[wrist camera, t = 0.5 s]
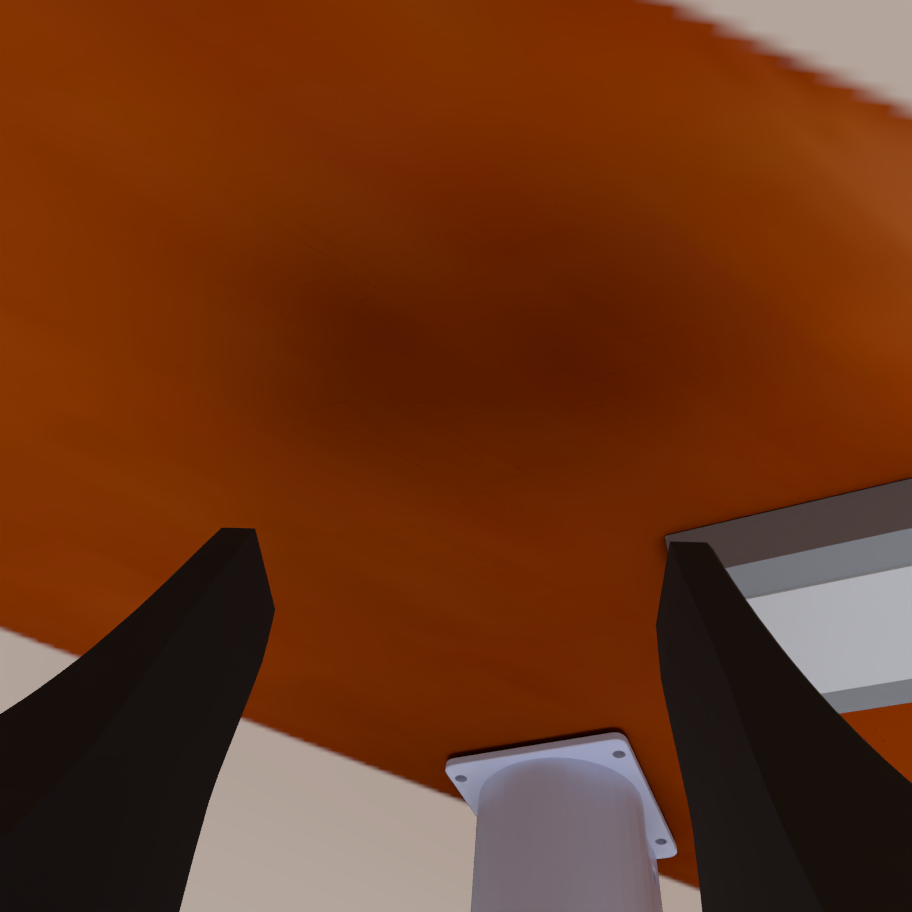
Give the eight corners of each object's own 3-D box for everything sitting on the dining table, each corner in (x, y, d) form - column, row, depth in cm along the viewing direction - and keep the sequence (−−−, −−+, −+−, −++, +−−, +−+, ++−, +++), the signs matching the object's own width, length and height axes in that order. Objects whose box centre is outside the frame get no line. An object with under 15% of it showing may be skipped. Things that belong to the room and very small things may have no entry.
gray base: (946, 645, 27) (974, 695, 26) (715, 685, 30) (726, 733, 28) (932, 473, 23) (963, 519, 21) (664, 536, 25) (673, 582, 24)
